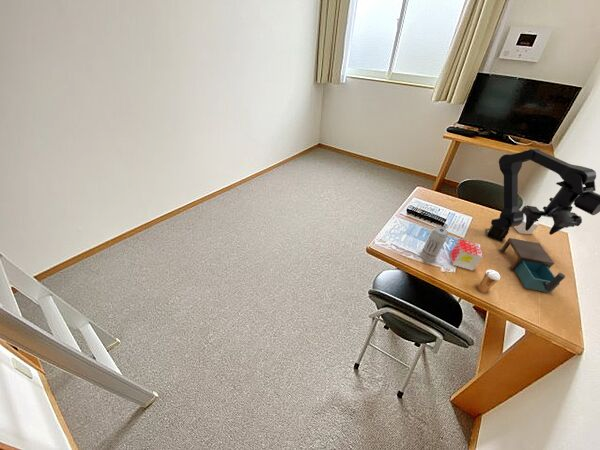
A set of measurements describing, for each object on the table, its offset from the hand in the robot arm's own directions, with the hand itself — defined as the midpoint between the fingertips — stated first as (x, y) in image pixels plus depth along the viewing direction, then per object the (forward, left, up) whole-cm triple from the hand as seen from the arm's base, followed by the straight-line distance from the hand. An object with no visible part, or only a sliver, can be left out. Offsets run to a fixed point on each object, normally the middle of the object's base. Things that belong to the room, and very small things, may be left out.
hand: (538, 232), depth 112 cm
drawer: (+4, -17, -13) cm, 21 cm away
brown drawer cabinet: (0, -6, -13) cm, 14 cm away
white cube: (+2, +22, -13) cm, 26 cm away
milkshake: (-14, -33, -13) cm, 38 cm away
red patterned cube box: (-22, -21, -13) cm, 33 cm away
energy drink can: (-35, -28, -13) cm, 47 cm away
